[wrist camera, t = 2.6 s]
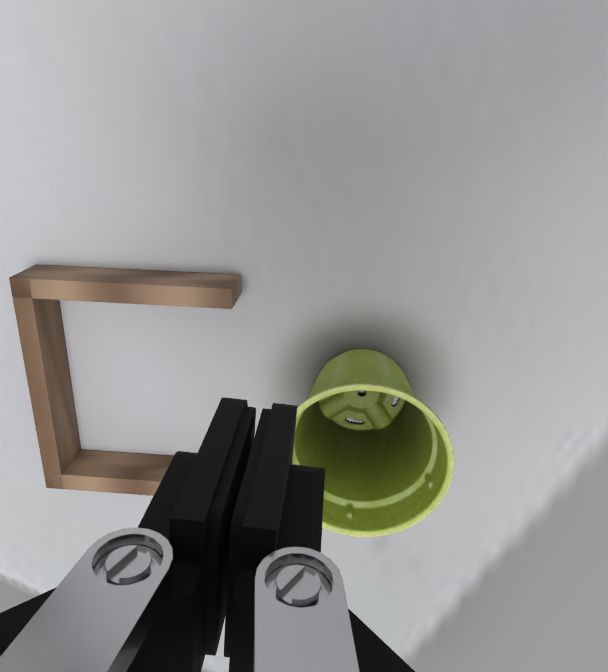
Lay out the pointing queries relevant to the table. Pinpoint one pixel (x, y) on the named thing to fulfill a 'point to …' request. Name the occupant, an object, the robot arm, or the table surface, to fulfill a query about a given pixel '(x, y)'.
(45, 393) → the dock
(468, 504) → the table surface
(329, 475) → the plant pot
